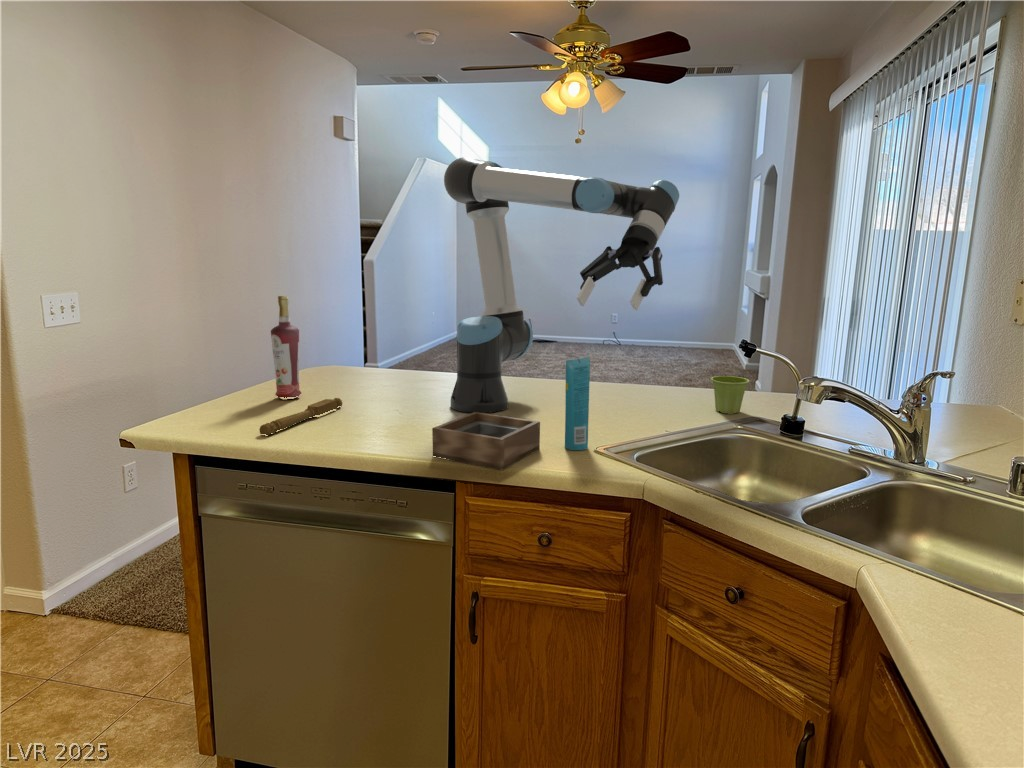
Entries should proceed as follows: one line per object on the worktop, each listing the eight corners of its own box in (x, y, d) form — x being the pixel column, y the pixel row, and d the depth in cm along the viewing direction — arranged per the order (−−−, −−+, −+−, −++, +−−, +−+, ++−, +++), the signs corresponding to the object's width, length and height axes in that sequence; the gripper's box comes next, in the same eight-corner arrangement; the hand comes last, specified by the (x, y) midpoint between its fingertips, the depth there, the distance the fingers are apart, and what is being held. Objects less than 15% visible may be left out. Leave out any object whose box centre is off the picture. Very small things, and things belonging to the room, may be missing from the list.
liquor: (308, 397, 188) (303, 296, 182) (286, 402, 182) (280, 297, 176) (290, 394, 192) (285, 294, 186) (268, 398, 186) (262, 296, 180)
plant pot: (748, 417, 172) (751, 383, 171) (710, 414, 174) (712, 381, 173) (744, 408, 181) (746, 376, 180) (707, 406, 183) (709, 375, 182)
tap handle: (257, 423, 150) (334, 396, 178) (258, 437, 150) (334, 407, 178) (269, 425, 149) (344, 397, 177) (270, 438, 149) (344, 408, 177)
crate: (432, 456, 136) (432, 428, 135) (475, 438, 150) (475, 411, 149) (501, 470, 129) (501, 439, 128) (539, 449, 143) (540, 421, 141)
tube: (576, 441, 148) (579, 355, 144) (595, 446, 145) (598, 357, 141) (556, 449, 143) (558, 359, 139) (575, 453, 140) (578, 361, 136)
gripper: (697, 247, 152) (662, 319, 144) (602, 246, 167) (565, 311, 159) (688, 222, 147) (652, 295, 139) (591, 223, 162) (553, 289, 154)
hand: (605, 304), depth 149 cm, fingers open, 13 cm apart
